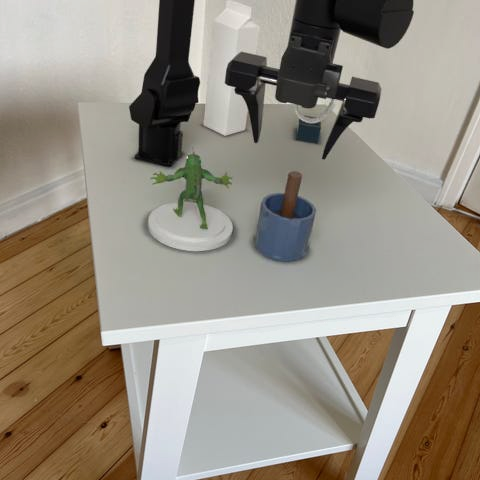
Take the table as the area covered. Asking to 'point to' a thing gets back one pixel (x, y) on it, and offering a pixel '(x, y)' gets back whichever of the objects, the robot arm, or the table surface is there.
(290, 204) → the wooden peg on base
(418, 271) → the table surface
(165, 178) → the green frog figurine
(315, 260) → the table surface
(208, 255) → the table surface
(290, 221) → the blue plastic cup
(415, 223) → the table surface
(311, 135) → the watch
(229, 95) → the milk
